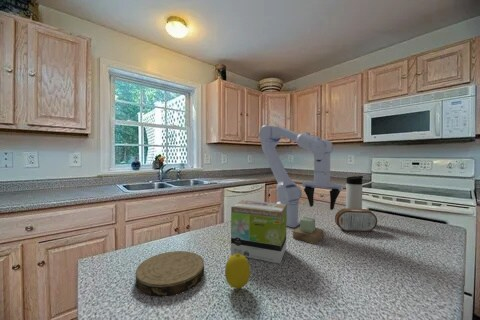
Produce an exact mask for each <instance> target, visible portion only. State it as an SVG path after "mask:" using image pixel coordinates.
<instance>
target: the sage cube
mask: <svg viewBox="0 0 480 320" xmlns="http://www.w3.org/2000/svg"><path fill="white" fill-rule="evenodd" d="M299 221H300V224H299V227H300V231H304V232H308V233H312V232H313V231H314V230H315V228H316V218H314V217H313V218H312V217H307V216H303V217H302V218H301V219H299Z"/></svg>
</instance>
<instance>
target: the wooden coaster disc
mask: <svg viewBox="0 0 480 320" xmlns="http://www.w3.org/2000/svg"><path fill="white" fill-rule="evenodd" d="M204 276H205V260H204V259H203V258H202V256H201V255H200V254H197V253H195V252H190V251H185V250H183V251H182V250H180V251H179V250H176V251H174V250H173V251H169V252H162V253H159V254H156V255H153V256H150V257H149V258H147V259H145V260H143V261H142V262H141V263H140V264H139V265H138V266H137V267H136V270H135V287H136V290H138V291H139V292H140V293H141V294H143V295H145V296H148V297H152V296H153V297H155V298H166V297H165V296H167V297H174V296H177V295H176V294H178V295H180V293H181V294H183V293H182V292H184V293H186V292H188V291H190V290H192V289H194V288H196V287H197V286H198V285H199V284H200V283H201V282H202V280H203V279H204ZM193 287H194V288H193ZM173 295H174V296H173Z"/></svg>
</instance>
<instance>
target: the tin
mask: <svg viewBox="0 0 480 320" xmlns="http://www.w3.org/2000/svg"><path fill="white" fill-rule="evenodd" d="M334 221H335V224H336V226H337V227H338V228H340V230H343V231H345V232H361V233H363V232H365V233H369V232H371V231H374V230H375V229H376V227H377V225H378V218H377V216H376V214H375V213H374V212H372V210H369V209H366V208H362V209H346V208H342V209H340V210H338V211H337V212H336V214H335V216H334Z"/></svg>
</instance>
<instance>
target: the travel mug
mask: <svg viewBox="0 0 480 320" xmlns="http://www.w3.org/2000/svg"><path fill="white" fill-rule="evenodd" d="M363 178H364V176H363V175H358V176H356V175H355V176H348V177H346V180H345V181H346V183H345V184H346V187H345V191H346V192H345V209H363Z"/></svg>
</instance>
